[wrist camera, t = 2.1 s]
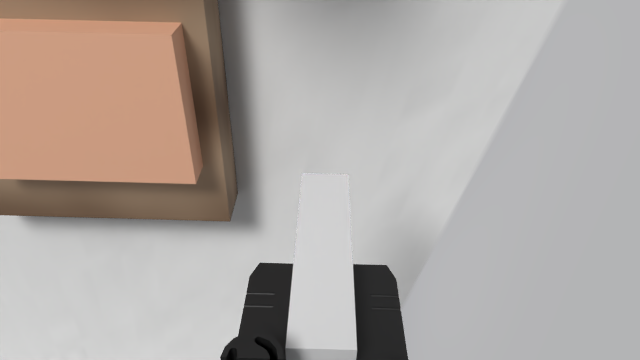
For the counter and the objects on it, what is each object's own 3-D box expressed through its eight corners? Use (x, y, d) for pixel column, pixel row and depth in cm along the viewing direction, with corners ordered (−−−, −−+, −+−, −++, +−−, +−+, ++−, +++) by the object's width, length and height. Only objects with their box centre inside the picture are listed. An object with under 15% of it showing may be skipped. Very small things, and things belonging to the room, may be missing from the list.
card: (-64, 17, 20) (-90, 28, 18) (181, 22, 19) (171, 34, 18) (0, 160, 24) (-18, 178, 22) (203, 166, 24) (195, 184, 22)
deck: (-134, -91, 20) (-188, -82, 18) (209, -83, 19) (194, -74, 17) (-5, 186, 28) (-32, 214, 26) (237, 193, 28) (230, 221, 26)
